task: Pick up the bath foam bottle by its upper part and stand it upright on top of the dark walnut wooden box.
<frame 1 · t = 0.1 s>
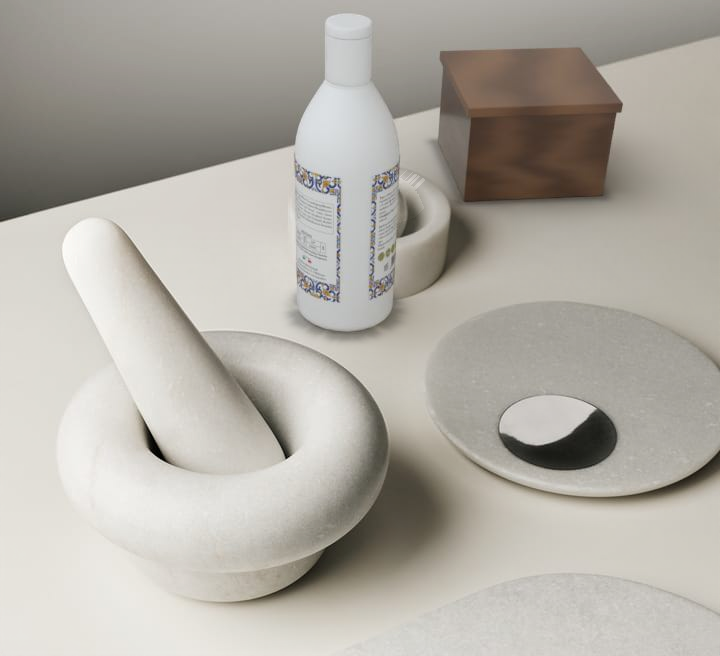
bath foam: (344, 311, 83), on the table
walnut box: (517, 167, 101), on the table
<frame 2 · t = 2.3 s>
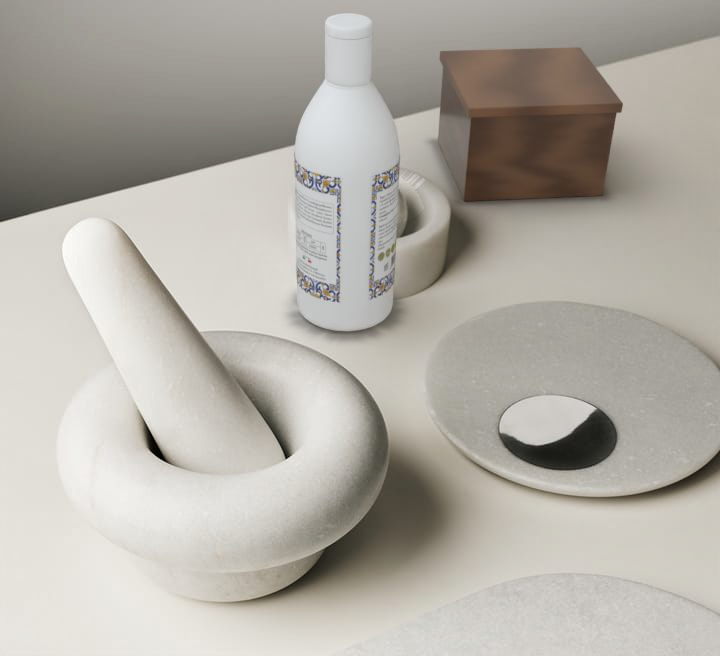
nothing on the table moved.
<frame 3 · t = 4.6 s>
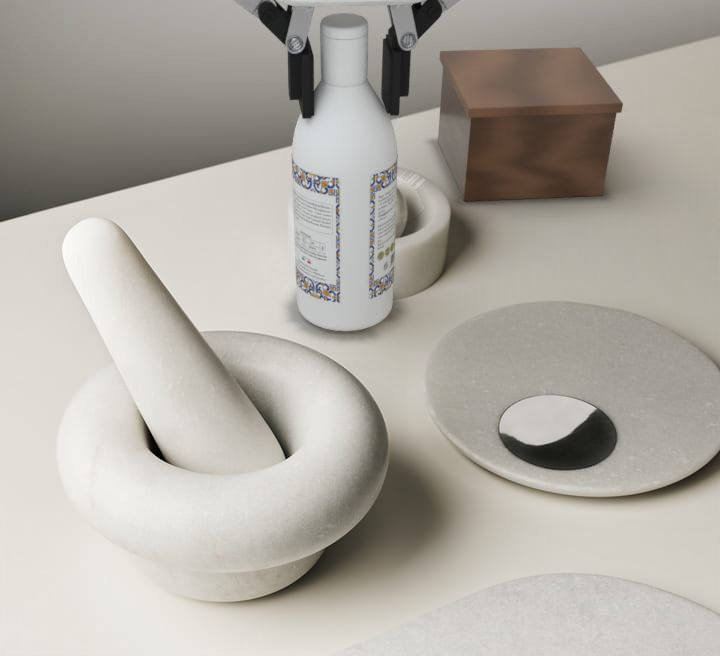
hand: (348, 105, 73), 15 cm above the table, tool pointing down, fingers closed on bath foam, 4 cm apart
bath foam: (344, 310, 83), on the table, touching gripper
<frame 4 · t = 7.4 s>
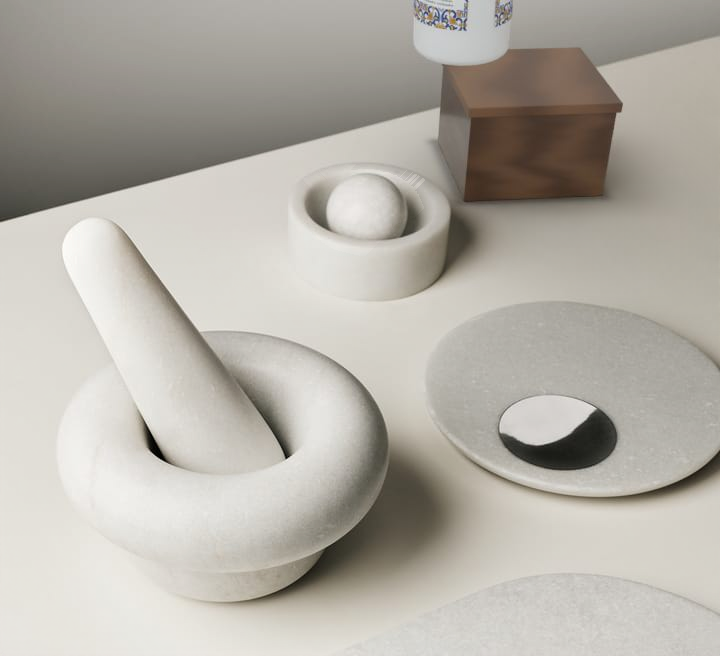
bath foam: (460, 53, 83), point 14 cm above the table, touching gripper
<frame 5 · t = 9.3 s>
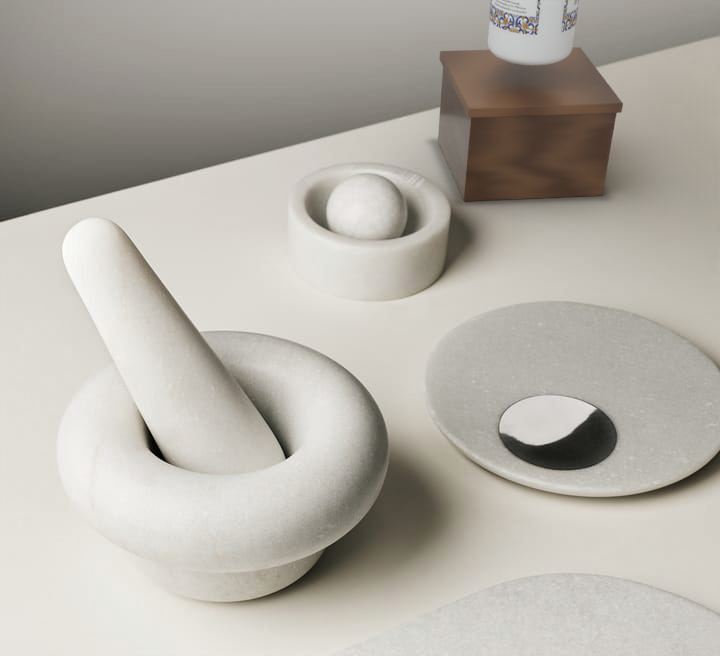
bath foam: (528, 54, 94), point 10 cm above the table, touching gripper
when the fingers open (23 cm above the table, at t = 10.3 s): bath foam stays where it is, resting on walnut box.
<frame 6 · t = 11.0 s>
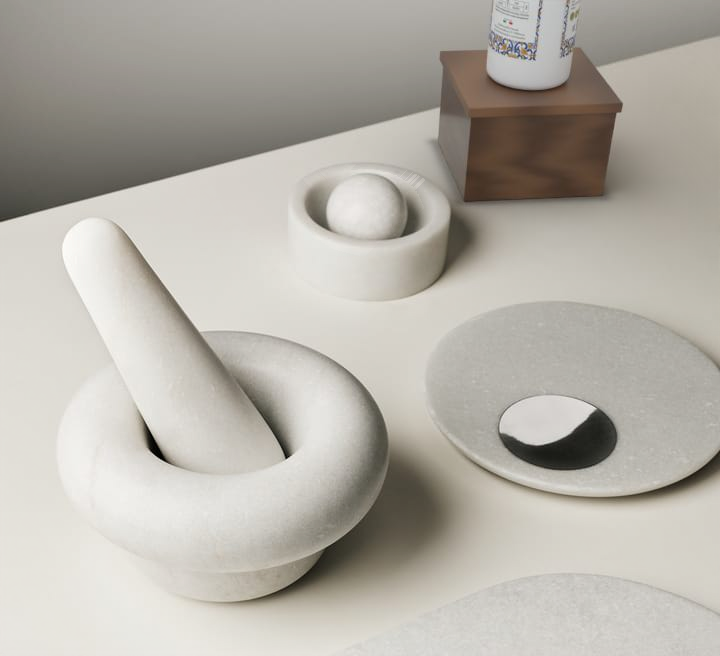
bath foam: (526, 79, 96), point 8 cm above the table, touching walnut box
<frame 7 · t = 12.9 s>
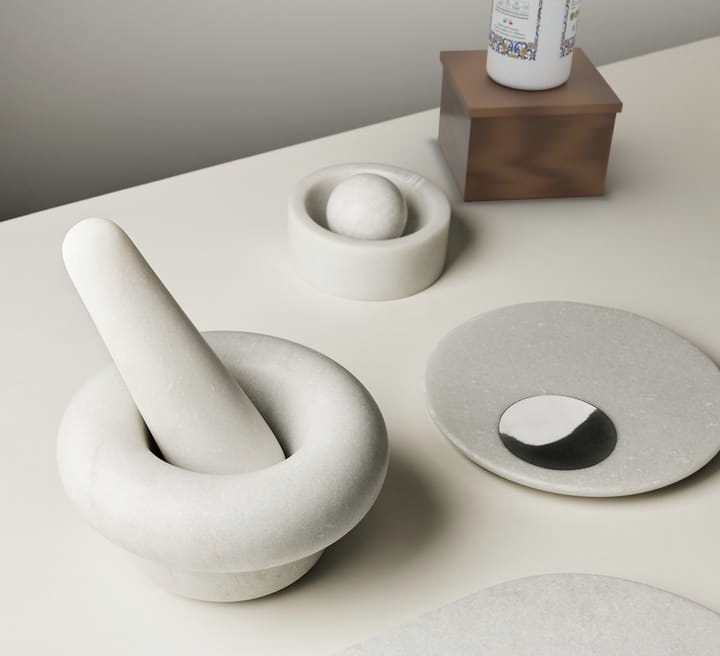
nothing on the table moved.
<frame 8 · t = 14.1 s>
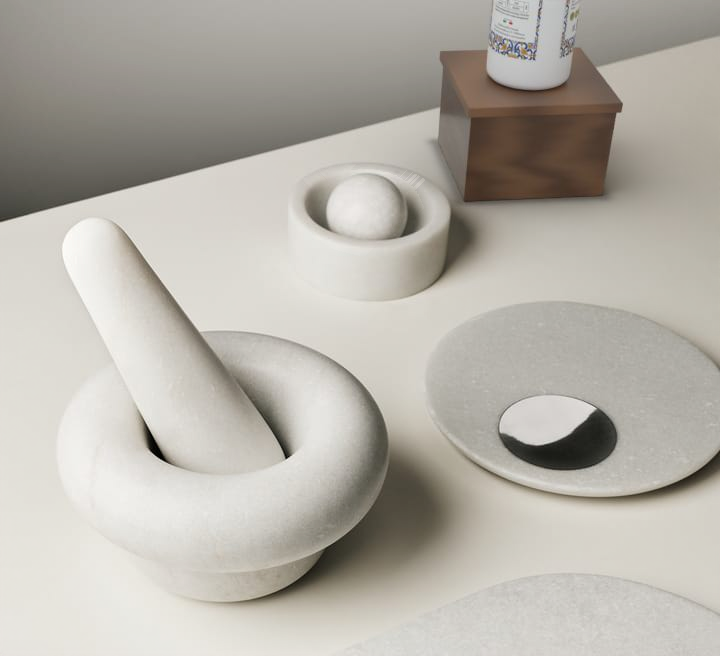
nothing on the table moved.
at the end: bath foam inside the target area on the walnut box (0.2 cm from its centre), point 7.8 cm above the walnut box's base; bath foam tilted 0°; the gripper is holding nothing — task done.
